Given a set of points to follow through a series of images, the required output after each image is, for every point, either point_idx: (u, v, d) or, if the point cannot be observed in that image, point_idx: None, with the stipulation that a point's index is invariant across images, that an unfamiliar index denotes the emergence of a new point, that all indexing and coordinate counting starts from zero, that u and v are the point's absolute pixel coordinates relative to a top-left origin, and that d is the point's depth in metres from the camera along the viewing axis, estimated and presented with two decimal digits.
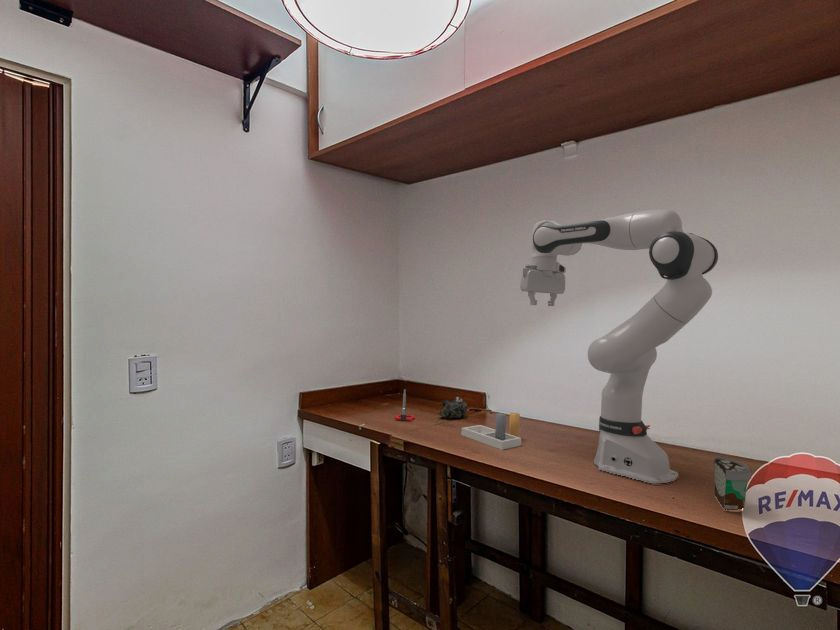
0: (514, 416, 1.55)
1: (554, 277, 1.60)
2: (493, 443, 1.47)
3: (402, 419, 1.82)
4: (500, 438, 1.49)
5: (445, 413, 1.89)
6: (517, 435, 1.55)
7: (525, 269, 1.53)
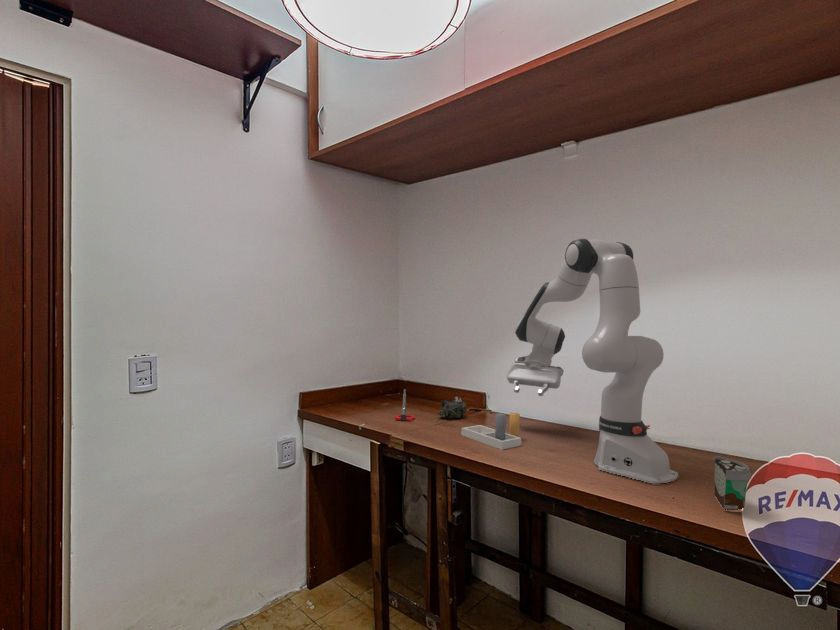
0: (514, 416, 1.55)
1: None
2: (493, 443, 1.47)
3: (402, 419, 1.82)
4: (500, 438, 1.49)
5: (445, 413, 1.89)
6: (517, 435, 1.55)
7: None
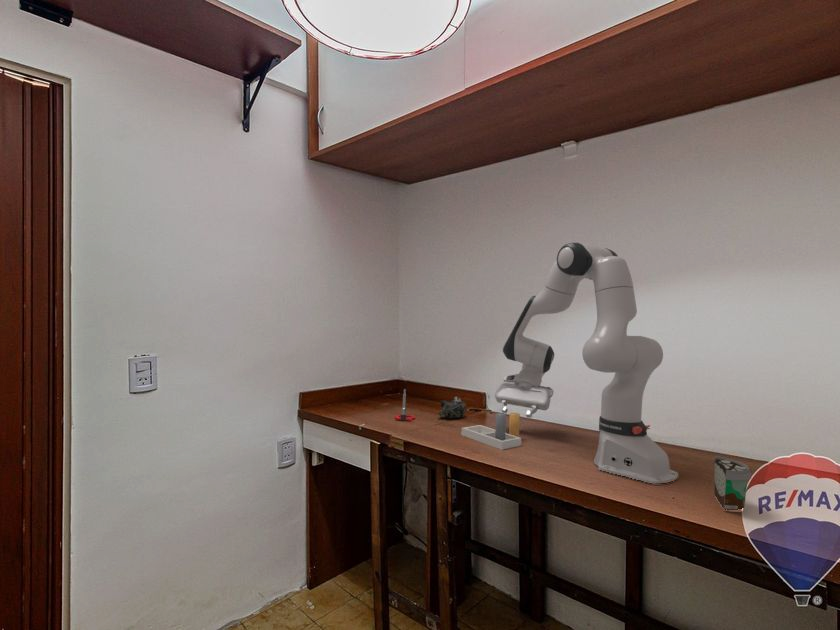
0: (514, 416, 1.55)
1: None
2: (493, 443, 1.47)
3: (402, 419, 1.82)
4: (500, 438, 1.49)
5: (444, 413, 1.88)
6: (517, 435, 1.55)
7: None
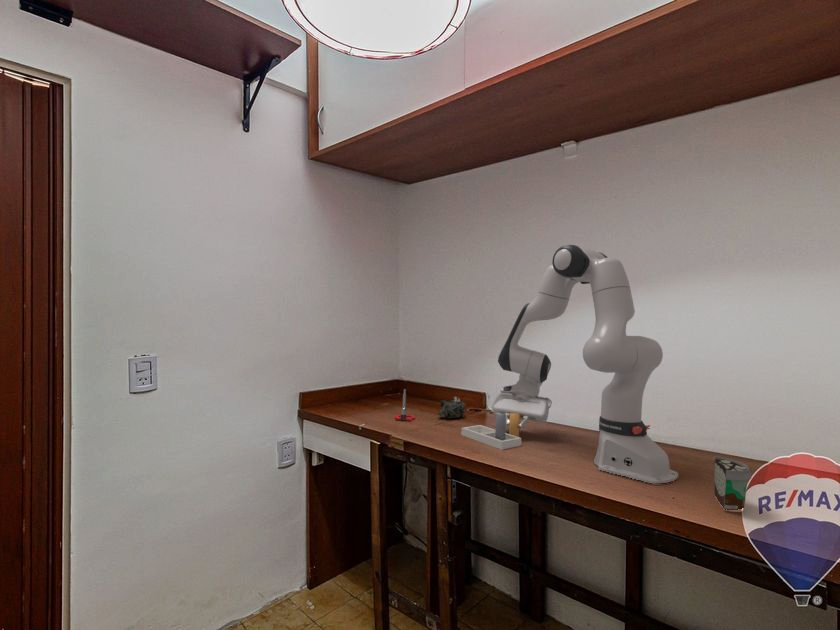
0: (514, 416, 1.55)
1: None
2: (493, 443, 1.47)
3: (402, 419, 1.82)
4: (500, 438, 1.49)
5: (444, 413, 1.88)
6: (517, 435, 1.55)
7: None
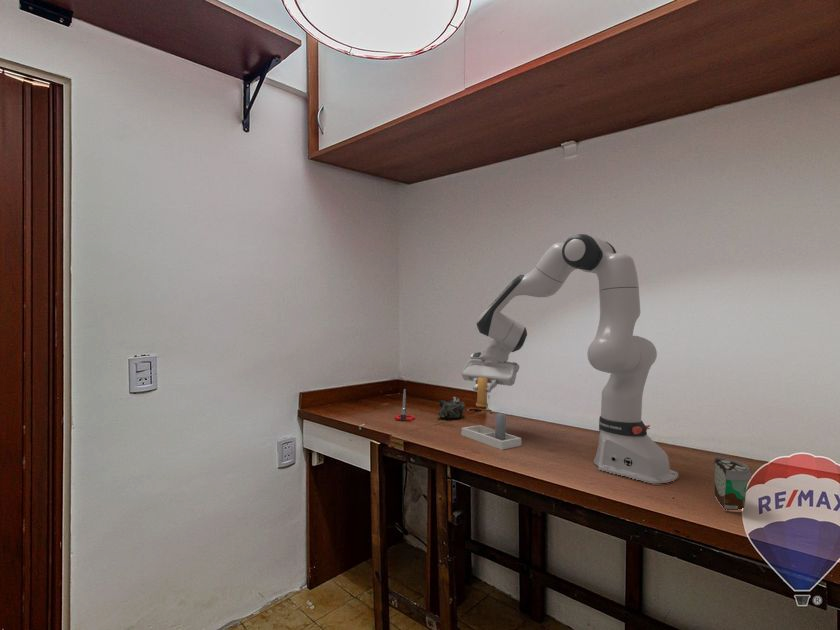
0: (482, 380, 1.57)
1: None
2: (493, 443, 1.47)
3: (402, 419, 1.82)
4: (500, 438, 1.49)
5: (444, 413, 1.88)
6: (485, 399, 1.57)
7: None
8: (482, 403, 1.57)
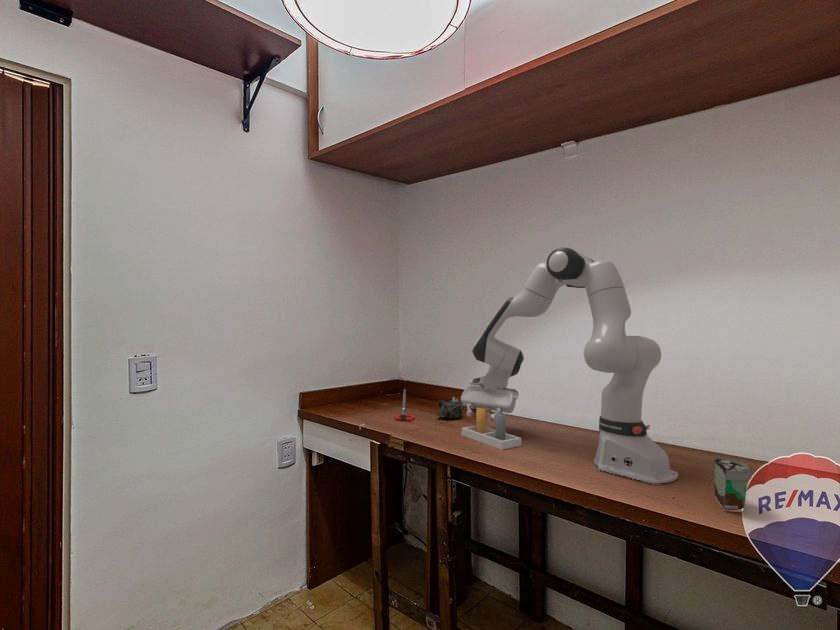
0: (480, 411, 1.57)
1: None
2: (493, 443, 1.47)
3: (402, 419, 1.82)
4: (500, 438, 1.49)
5: (443, 413, 1.88)
6: (484, 430, 1.57)
7: None
8: None
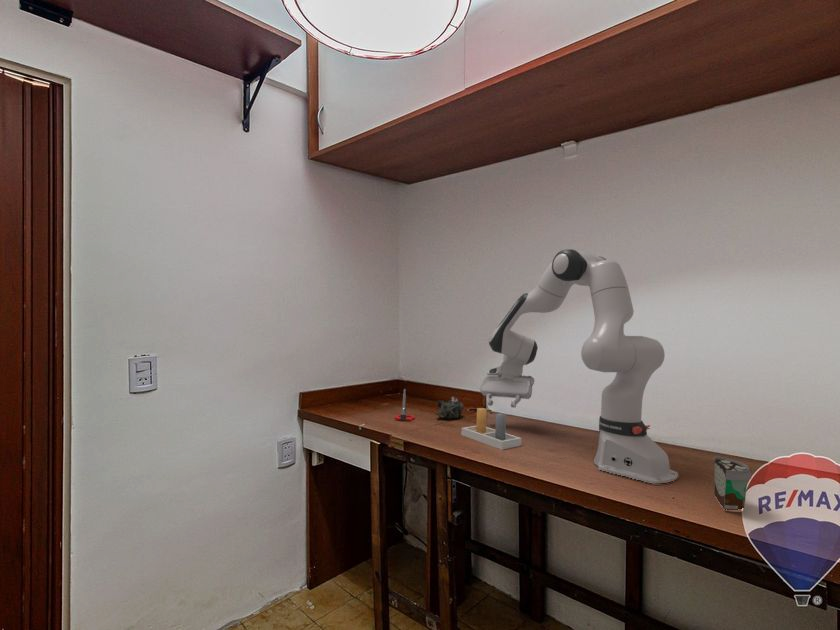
0: (481, 411, 1.57)
1: None
2: (493, 443, 1.47)
3: (402, 419, 1.82)
4: (500, 438, 1.49)
5: (443, 414, 1.88)
6: (484, 430, 1.57)
7: None
8: None
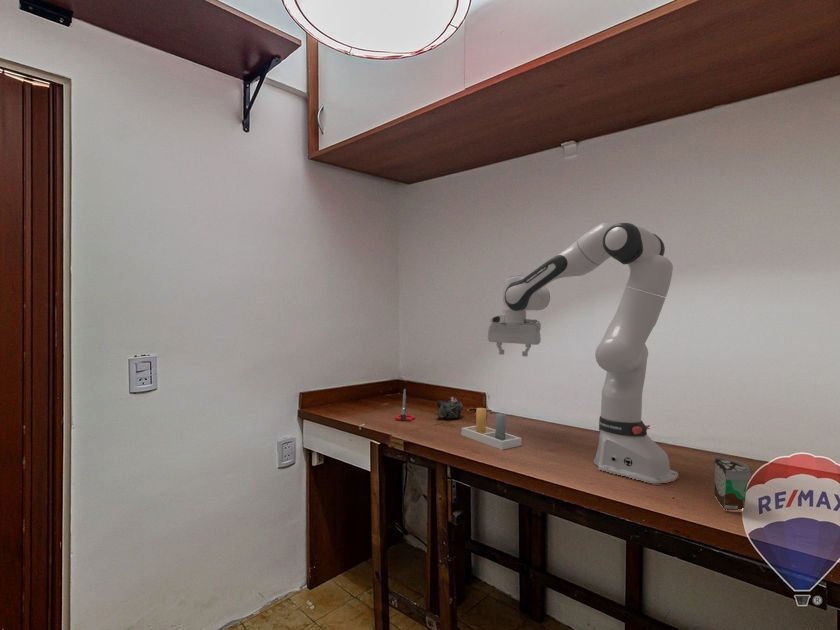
0: (480, 411, 1.57)
1: None
2: (493, 443, 1.47)
3: (402, 419, 1.82)
4: (500, 438, 1.49)
5: (442, 414, 1.87)
6: (484, 430, 1.57)
7: None
8: None
